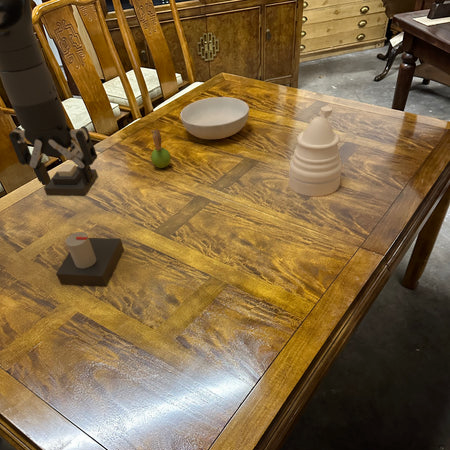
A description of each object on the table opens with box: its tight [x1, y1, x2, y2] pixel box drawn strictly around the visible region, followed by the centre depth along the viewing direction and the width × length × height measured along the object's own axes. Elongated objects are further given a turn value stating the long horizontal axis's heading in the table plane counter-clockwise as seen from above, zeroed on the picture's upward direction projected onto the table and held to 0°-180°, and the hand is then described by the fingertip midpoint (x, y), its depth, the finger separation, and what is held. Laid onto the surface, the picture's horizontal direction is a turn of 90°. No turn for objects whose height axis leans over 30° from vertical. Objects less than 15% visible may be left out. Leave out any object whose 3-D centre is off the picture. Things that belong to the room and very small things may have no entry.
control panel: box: [55, 237, 125, 287], centre depth 89 cm, size 10×12×3 cm
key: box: [56, 164, 77, 177], centre depth 111 cm, size 4×4×2 cm
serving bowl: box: [179, 96, 250, 140], centre depth 129 cm, size 21×21×7 cm
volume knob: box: [64, 231, 96, 269], centre depth 85 cm, size 4×4×6 cm
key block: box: [43, 165, 99, 197], centre depth 113 cm, size 11×10×4 cm
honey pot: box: [288, 106, 343, 197], centre depth 101 cm, size 13×13×18 cm
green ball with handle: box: [150, 129, 172, 169], centre depth 114 cm, size 5×6×12 cm
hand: (67, 183), depth 80 cm, fingers open, 8 cm apart
